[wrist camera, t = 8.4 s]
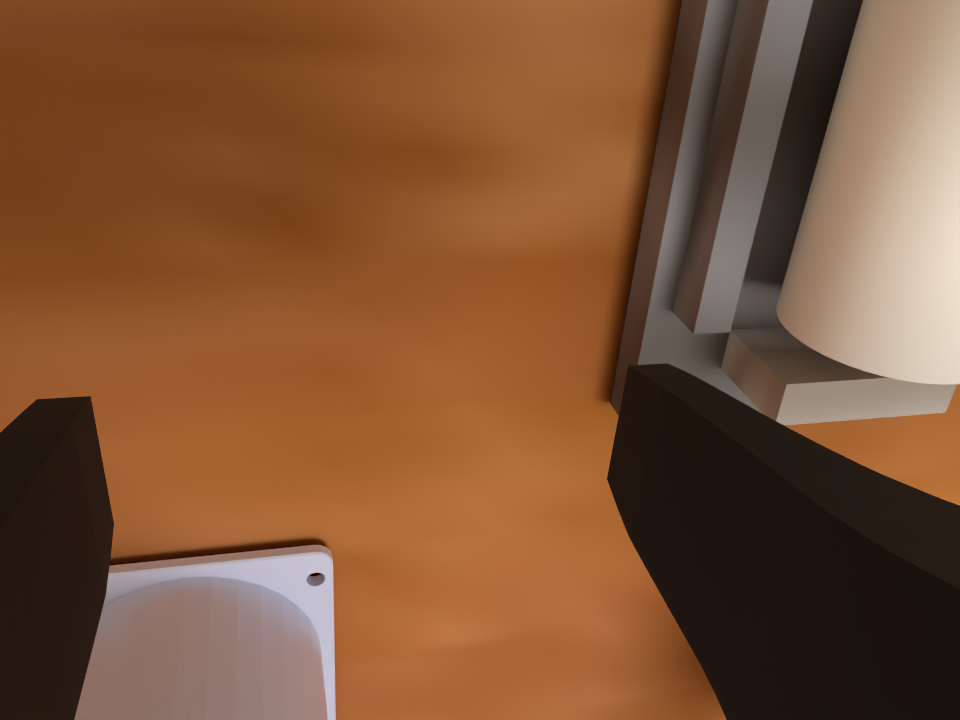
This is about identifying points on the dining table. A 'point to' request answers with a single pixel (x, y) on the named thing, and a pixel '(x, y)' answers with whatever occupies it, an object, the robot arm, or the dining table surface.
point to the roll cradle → (746, 213)
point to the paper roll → (886, 203)
